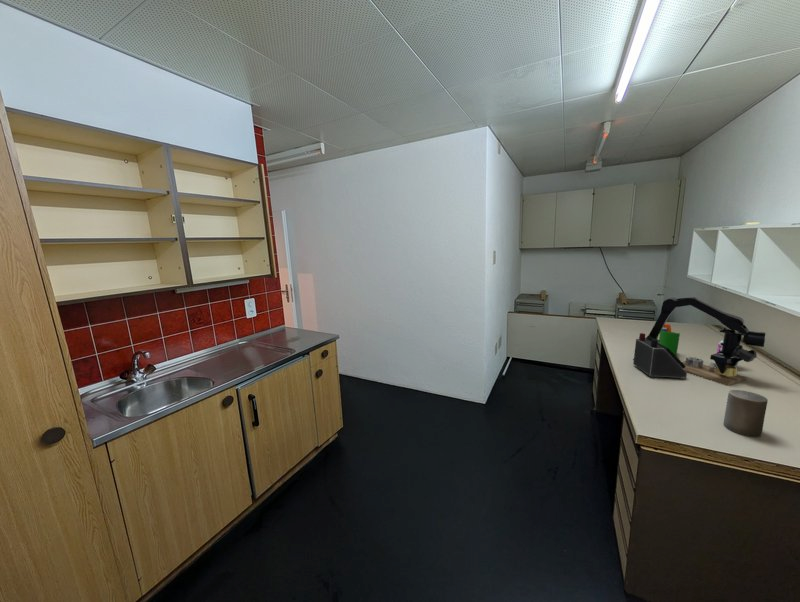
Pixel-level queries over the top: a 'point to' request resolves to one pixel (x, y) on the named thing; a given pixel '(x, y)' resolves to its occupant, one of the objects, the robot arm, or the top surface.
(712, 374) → the board
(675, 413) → the top surface
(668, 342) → the motor
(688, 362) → the steel gear
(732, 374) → the brass gear
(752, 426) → the pillar candle
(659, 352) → the voltmeter
